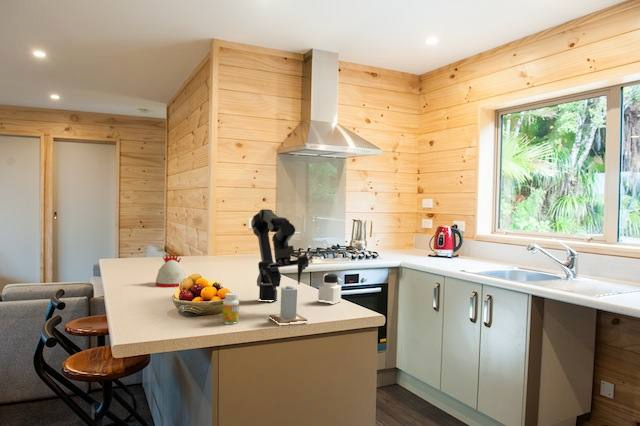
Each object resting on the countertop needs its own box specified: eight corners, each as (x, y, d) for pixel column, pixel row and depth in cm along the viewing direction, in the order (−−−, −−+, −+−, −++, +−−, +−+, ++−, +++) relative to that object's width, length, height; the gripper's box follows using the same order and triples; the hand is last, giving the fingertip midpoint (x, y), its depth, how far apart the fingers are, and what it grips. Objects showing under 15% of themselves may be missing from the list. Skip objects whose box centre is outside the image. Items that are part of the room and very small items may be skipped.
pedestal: (279, 326, 155) (280, 321, 155) (269, 319, 164) (269, 314, 164) (306, 323, 160) (307, 319, 160) (295, 316, 168) (295, 312, 168)
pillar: (280, 315, 163) (281, 285, 163) (292, 315, 165) (293, 285, 164) (283, 318, 159) (284, 288, 159) (296, 318, 160) (297, 287, 160)
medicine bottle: (340, 302, 197) (342, 274, 197) (332, 305, 191) (333, 276, 191) (326, 300, 201) (327, 272, 200) (317, 302, 194) (319, 274, 194)
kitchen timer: (154, 282, 224) (155, 251, 224) (183, 281, 230) (184, 251, 230) (157, 288, 212) (158, 255, 211) (188, 286, 217) (189, 254, 217)
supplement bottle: (219, 321, 157) (220, 293, 157) (232, 319, 161) (233, 291, 161) (227, 325, 154) (229, 296, 153) (241, 322, 157) (242, 294, 157)
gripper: (255, 242, 170) (259, 282, 163) (305, 235, 172) (312, 275, 166) (257, 253, 180) (261, 292, 173) (305, 247, 182) (311, 285, 175)
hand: (286, 285), depth 172 cm, fingers open, 9 cm apart
